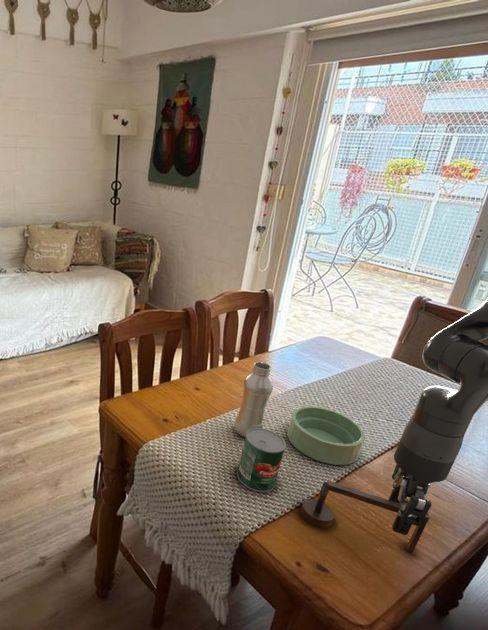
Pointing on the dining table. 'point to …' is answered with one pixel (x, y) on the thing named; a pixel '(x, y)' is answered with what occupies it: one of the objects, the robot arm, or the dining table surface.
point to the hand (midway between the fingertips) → (396, 518)
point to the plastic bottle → (254, 399)
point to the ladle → (323, 514)
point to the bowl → (325, 435)
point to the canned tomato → (261, 459)
